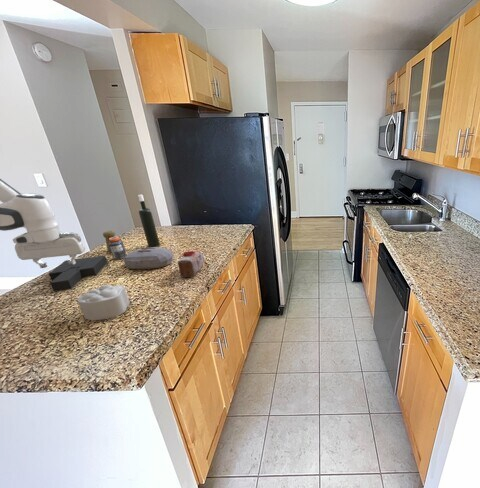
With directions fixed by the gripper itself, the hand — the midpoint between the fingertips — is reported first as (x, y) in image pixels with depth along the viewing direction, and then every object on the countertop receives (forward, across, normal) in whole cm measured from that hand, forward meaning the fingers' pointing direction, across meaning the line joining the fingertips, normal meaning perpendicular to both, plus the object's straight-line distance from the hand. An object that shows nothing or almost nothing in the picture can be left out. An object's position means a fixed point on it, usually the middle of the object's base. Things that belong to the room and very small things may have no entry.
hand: (58, 265), depth 108 cm
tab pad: (+9, -1, -2) cm, 9 cm away
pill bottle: (+9, -12, -25) cm, 29 cm away
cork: (+9, -5, -39) cm, 40 cm away
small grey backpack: (+9, -30, -10) cm, 33 cm away
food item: (+8, -50, +5) cm, 51 cm away
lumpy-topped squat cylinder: (+9, -24, +28) cm, 38 cm away
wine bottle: (+9, -25, -38) cm, 46 cm away
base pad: (+9, 0, -13) cm, 16 cm away
